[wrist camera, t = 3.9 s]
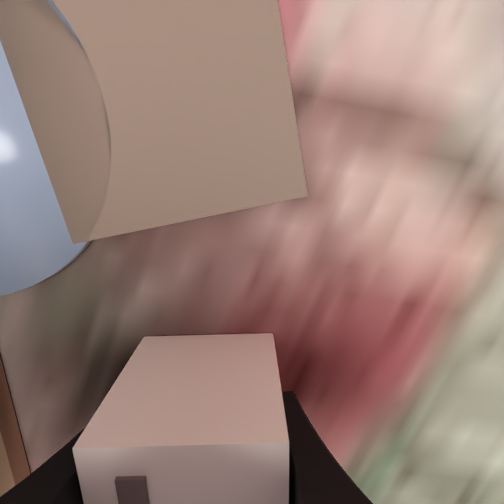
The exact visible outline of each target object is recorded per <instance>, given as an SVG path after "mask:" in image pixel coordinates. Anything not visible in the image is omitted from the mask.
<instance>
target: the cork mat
mask: <svg viewBox="0 0 504 504" xmlns="http://www.w3.org/2000/svg"><path fill="white" fill-rule="evenodd" d="M10 1H11V2H10ZM40 1H41V2H40ZM52 1H53V3H54V4H55V6H57V7H58V9H59V10H60V11H61V13H62V14H63V16H64V17H65V18H66V20H67V21H68V22H69V24H70V25H71V27H72V28H73V30H74V32H75V33H74V34H76V35H77V38H78V39H79V40H80V42H81V44H82V45H80V44H78V43H79V42H77V40H78V39H76V38H75V37H74V35H73V34H72V35H71V33H72V31H71V32H69V31H70V30H69V26H68V27H67V28H65V27H66V24H65V23H63V22H64V21H62V20H61V19H59V18H60V16H61V14H59V15H60V16H59V17H57V14H58V13H57V14H56V10H54V11H55V12H54V11H53V8H52V5H51V3H50V4H48V3H49V2H47V3H46V0H33V1H32V0H0V8H1V9H0V17H1V18H0V30H1V29H2V30H1V31H0V41H1V44H2V47H4V48H3V50H4V52H5V55H6V54H7V55H8V56H7V55H6V58H7V61H9V62H8V64H9V66H10V69H11V72H12V75H13V78H14V80H15V83H16V86H17V89H18V91H19V94H20V97H21V100H22V103H24V104H23V106H24V108H25V111H26V112H27V113H26V114H27V117H28V120H29V122H30V121H31V122H30V125H31V128H32V131H33V134H34V136H35V139H36V142H37V145H38V148H39V150H40V153H41V156H42V159H43V162H44V164H45V167H46V170H47V173H48V176H49V178H50V180H51V184H52V187H53V190H54V192H55V195H56V198H57V201H58V204H59V206H60V209H61V212H62V215H63V218H64V220H65V223H66V226H67V229H68V232H69V234H70V237H71V240H72V243H73V244H76V243H81V242H86V241H91V240H96V239H101V238H106V237H111V236H116V235H121V234H125V233H130V232H135V231H140V230H145V229H150V228H155V227H160V226H165V225H170V224H175V223H179V222H184V221H189V220H194V219H199V218H204V217H209V216H214V215H219V214H224V213H228V212H233V211H238V210H243V209H248V208H253V207H258V206H263V205H268V204H273V203H278V202H282V201H287V200H292V199H297V198H302V197H307V196H308V194H307V187H306V181H305V174H304V168H303V161H302V155H301V148H300V142H299V135H298V129H297V122H296V116H295V109H294V103H293V96H292V90H291V83H290V77H289V70H288V64H287V57H286V51H285V45H284V38H283V32H282V25H281V19H280V12H279V6H278V0H52ZM35 2H36V3H37V4H36V3H35ZM42 2H43V3H44V5H43V3H42ZM2 3H3V4H2ZM9 3H10V4H9ZM13 4H14V5H13ZM39 4H40V5H39ZM4 5H5V6H4ZM45 5H46V6H47V5H48V7H45ZM50 5H51V6H50ZM57 7H56V8H57ZM50 8H51V9H52V10H51V9H50ZM54 9H55V8H54ZM6 10H7V11H6ZM12 10H14V11H12ZM23 10H24V11H23ZM1 13H2V14H1ZM3 17H4V18H3ZM9 19H10V20H11V21H10V20H9ZM15 19H16V20H15ZM26 19H27V20H26ZM1 20H2V21H1ZM12 22H13V23H14V24H13V23H12ZM61 22H62V23H61ZM36 23H37V24H36ZM4 24H5V25H4ZM32 26H33V27H32ZM22 27H23V28H22ZM26 27H27V28H26ZM3 29H4V30H3ZM66 29H67V30H66ZM70 29H71V28H70ZM13 30H14V31H13ZM65 30H66V31H65ZM71 30H72V29H71ZM24 31H25V32H24ZM23 34H24V35H23ZM5 35H6V37H5ZM35 35H36V36H35ZM26 36H27V37H26ZM72 36H73V37H72ZM17 37H18V39H17ZM3 38H4V39H3ZM10 38H11V39H10ZM15 38H16V39H15ZM29 39H30V40H29ZM20 40H21V41H20ZM7 41H8V42H7ZM10 41H11V42H10ZM9 43H10V44H9ZM4 44H5V45H6V46H5V45H4ZM8 45H9V46H8ZM15 45H16V46H15ZM80 46H82V47H83V48H81V47H80ZM6 47H7V48H8V47H9V48H8V49H7V48H6ZM13 47H14V48H13ZM11 48H12V49H11ZM7 50H8V51H7ZM84 50H85V51H84ZM83 52H84V53H83ZM13 53H14V54H13ZM23 53H24V54H23ZM85 53H86V55H85ZM10 54H12V55H10ZM19 54H20V55H19ZM23 55H25V56H23ZM87 55H88V56H87ZM85 56H86V57H85ZM50 57H51V58H50ZM11 58H12V59H11ZM30 58H31V59H30ZM9 59H10V60H9ZM16 59H17V60H16ZM23 60H24V61H23ZM21 61H22V62H21ZM10 62H13V63H10ZM28 62H29V63H28ZM10 64H11V65H10ZM21 65H22V66H21ZM13 66H14V67H13ZM20 67H21V68H22V69H21V68H20ZM32 69H33V70H32ZM12 70H13V71H12ZM20 70H21V71H20ZM26 70H27V71H26ZM25 72H26V73H25ZM24 77H25V78H24ZM35 78H36V79H35ZM18 81H19V82H18ZM21 84H22V85H21ZM26 86H27V87H26ZM32 86H33V87H32ZM26 89H27V90H26ZM23 96H24V97H23ZM38 97H39V98H38ZM28 105H29V106H28ZM33 107H34V108H33ZM28 109H30V110H28ZM105 110H106V111H105ZM32 112H33V113H32ZM30 114H31V115H30ZM106 115H107V116H106ZM106 118H108V119H106ZM32 119H33V120H32ZM108 122H109V123H108ZM108 125H109V126H108ZM109 127H110V129H109ZM35 128H36V129H35ZM41 128H42V129H41ZM39 129H40V131H39ZM36 132H37V133H36ZM109 132H110V134H109ZM38 134H39V135H38ZM110 143H111V144H110ZM54 144H55V145H54ZM110 145H111V146H110ZM54 150H55V151H54ZM46 155H47V157H46ZM51 155H52V156H51ZM44 158H45V159H44ZM56 159H57V160H56ZM47 160H48V161H47ZM49 160H50V161H49ZM52 168H53V169H52ZM58 176H59V177H58ZM54 180H55V181H54ZM57 196H58V197H57Z"/></svg>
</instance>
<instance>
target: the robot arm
mask: <svg viewBox="0 0 504 504" xmlns="http://www.w3.org/2000/svg"><path fill="white" fill-rule="evenodd" d="M282 397H283V404H284V410H285V417H286V424H287V431H288V438H289V504H373V503H372V502H371V501H370V500H369V499H368V498H367V497H366V496H365V494H364V493H363V492H362V491H361V490H360V489H359V488H358V487H357V485H356V484H355V483H354V482H353V481H352V480H351V478H350V477H349V476H348V475H347V474H346V472H345V471H344V470H343V469H342V467H341V466H340V465H339V463H338V462H337V461H336V459H335V458H334V457H333V455H332V454H331V453H330V451H329V450H328V449H327V447H326V446H325V444H324V443H323V441H322V440H321V438H320V437H319V435H318V434H317V432H316V431H315V429H314V428H313V426H312V424H311V423H310V421H309V419H308V418H307V416H306V414H305V412H304V411H303V409H302V407H301V405H300V403H299V401H298V399H297V397H296V394H295V393H294V392H282ZM85 428H86V427H85ZM85 428H84V429H85ZM84 429H83V430H82V431H81V432H80V433H79V434H77V435H76V436H75V437H74V438H73V439H72V440H71V441H70V442H69V443H67V444H66V445H65V446H64V447H63V448H61V449H60V450H59V451H58V452H57V453H56V454H54V455H53V456H52V457H51V458H50V459H48V460H47V461H46V462H45V463H44V464H42V465H41V466H40V467H39V468H38V469H36V470H35V471H34V472H33V473H31V474H30V475H29V476H27V477H26V478H25V479H24V480H22V481H21V482H20V483H18V484H17V485H16V486H14V487H13V488H11V489H10V490H9V491H7V492H6V493H5V494H3V495H2V496H1V497H0V504H84V502H83V497H82V493H81V488H80V483H79V478H78V474H77V469H76V464H75V459H74V455H73V450H72V448H73V446H74V445H75V443H76V442H77V440H78V439H79V437H80V436H81V434H82V432H83V431H84Z"/></svg>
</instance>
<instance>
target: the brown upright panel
mask: <svg viewBox="0 0 504 504" xmlns="http://www.w3.org/2000/svg"><path fill="white" fill-rule="evenodd" d="M30 474H31V473H30V470H29V466H28V462H27V458H26V454H25V450H24V446H23V443H22V439H21V435H20V431H19V427H18V423H17V419H16V416H15V412H14V408H13V404H12V400H11V396H10V392H9V389H8V385H7V381H6V377H5V373H4V369H3V365H2V362H1V358H0V497H1V496H2V495H3V494H5V493H6V492H7V491H9V490H10V489H11V488H13V487H14V486H16V485H17V484H18V483H20V482H21V481H22V480H24V479H25V478H26V477H27V476H29V475H30Z"/></svg>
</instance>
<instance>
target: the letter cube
mask: <svg viewBox="0 0 504 504" xmlns="http://www.w3.org/2000/svg"><path fill="white" fill-rule="evenodd" d="M72 450H73V455H74V459H75V464H76V469H77V474H78V478H79V483H80V488H81V493H82V497H83V502H84V504H289V438H288V431H287V424H286V417H285V410H284V404H283V397H282V390H281V383H280V377H279V370H278V363H277V356H276V350H275V343H274V336H273V333H259V334H222V335H184V336H147V337H143V339H142V341H141V342H140V344H139V345H138V347H137V348H136V350H135V351H134V353H133V355H132V356H131V358H130V359H129V361H128V362H127V364H126V365H125V367H124V369H123V370H122V372H121V373H120V375H119V376H118V378H117V379H116V381H115V383H114V384H113V386H112V387H111V389H110V390H109V392H108V393H107V395H106V397H105V398H104V400H103V401H102V403H101V404H100V406H99V408H98V409H97V411H96V412H95V414H94V415H93V417H92V418H91V420H90V422H89V423H88V425H87V426H86V428H85V429H84V431H83V432H82V434H81V436H80V437H79V439H78V440H77V442H76V443H75V445H74V446H73V448H72Z"/></svg>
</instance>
